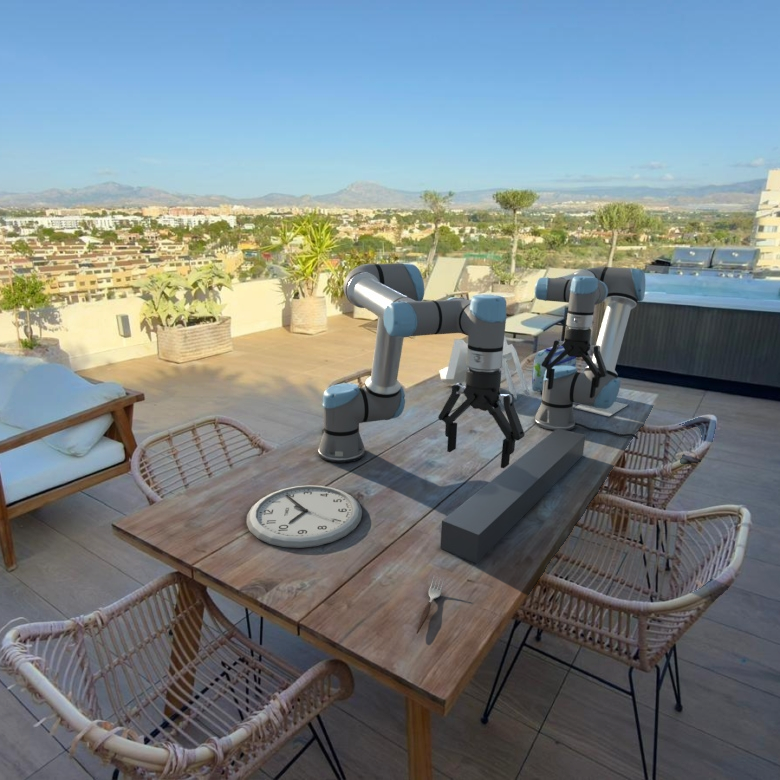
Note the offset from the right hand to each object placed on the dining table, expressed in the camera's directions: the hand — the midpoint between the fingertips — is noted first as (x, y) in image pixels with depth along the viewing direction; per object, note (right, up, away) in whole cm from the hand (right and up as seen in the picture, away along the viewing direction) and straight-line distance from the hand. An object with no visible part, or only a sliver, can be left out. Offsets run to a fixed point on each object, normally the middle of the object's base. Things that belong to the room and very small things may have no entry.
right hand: (570, 392), depth 168 cm
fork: (-50, -43, -64) cm, 92 cm away
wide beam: (-20, -29, -17) cm, 39 cm away
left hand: (-38, -15, -49) cm, 64 cm away
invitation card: (+33, -6, +58) cm, 67 cm away
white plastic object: (-17, 0, +75) cm, 77 cm away
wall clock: (-81, -32, -31) cm, 92 cm away
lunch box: (+19, +1, +80) cm, 82 cm away
